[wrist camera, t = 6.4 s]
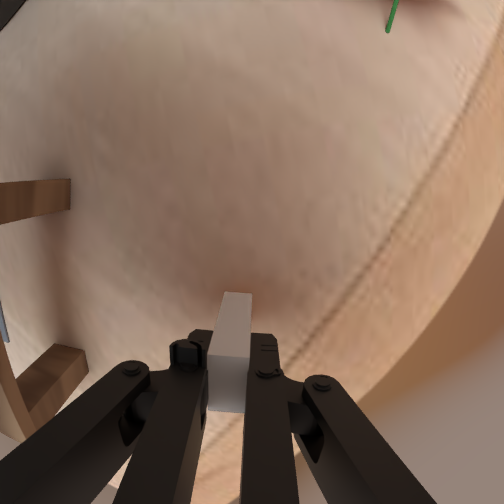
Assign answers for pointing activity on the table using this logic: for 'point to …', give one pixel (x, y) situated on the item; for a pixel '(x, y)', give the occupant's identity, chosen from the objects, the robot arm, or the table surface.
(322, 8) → the table surface
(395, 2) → the lily
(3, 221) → the bridge
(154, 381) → the robot arm
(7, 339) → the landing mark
